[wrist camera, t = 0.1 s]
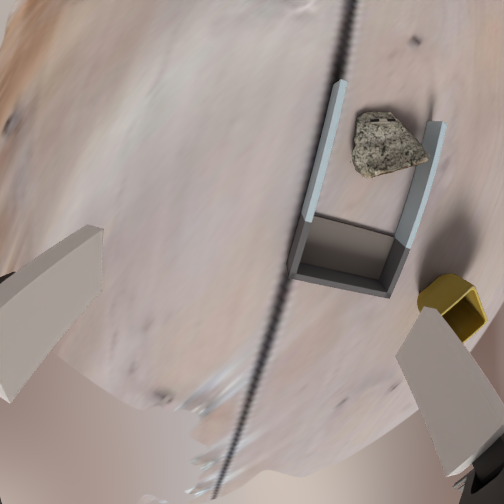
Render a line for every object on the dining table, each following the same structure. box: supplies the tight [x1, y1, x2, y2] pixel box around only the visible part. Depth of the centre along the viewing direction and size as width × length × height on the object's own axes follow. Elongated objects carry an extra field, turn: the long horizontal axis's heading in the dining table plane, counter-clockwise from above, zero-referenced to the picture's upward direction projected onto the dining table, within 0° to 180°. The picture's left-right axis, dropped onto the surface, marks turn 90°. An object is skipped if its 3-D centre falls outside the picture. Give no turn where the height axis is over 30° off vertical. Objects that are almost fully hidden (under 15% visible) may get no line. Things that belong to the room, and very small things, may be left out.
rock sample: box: [350, 111, 430, 178], centre depth 32 cm, size 10×8×9 cm
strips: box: [301, 80, 447, 249], centre depth 33 cm, size 17×15×4 cm
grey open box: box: [286, 213, 410, 299], centre depth 38 cm, size 8×15×4 cm, turn 78°
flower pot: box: [417, 274, 488, 343], centre depth 38 cm, size 9×9×9 cm
